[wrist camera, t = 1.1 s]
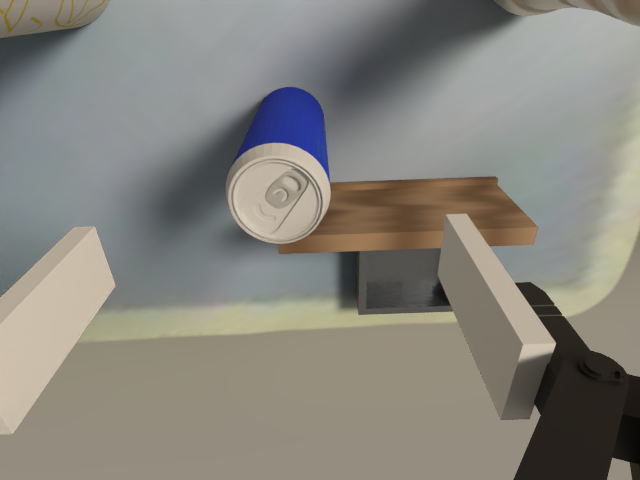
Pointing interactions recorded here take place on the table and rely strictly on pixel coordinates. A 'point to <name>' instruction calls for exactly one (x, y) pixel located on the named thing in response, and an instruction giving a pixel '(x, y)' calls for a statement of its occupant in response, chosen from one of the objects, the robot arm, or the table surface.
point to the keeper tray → (399, 282)
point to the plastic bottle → (622, 3)
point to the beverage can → (281, 170)
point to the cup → (46, 15)
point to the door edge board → (413, 215)
